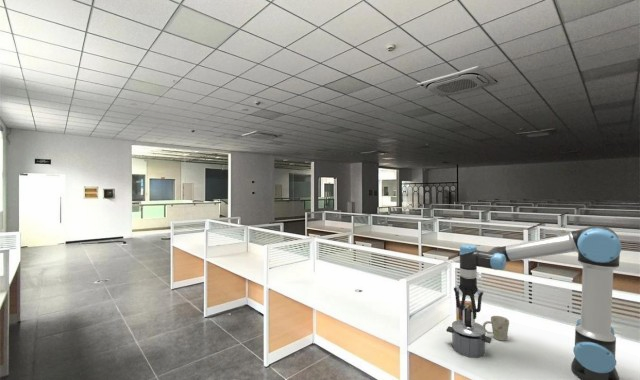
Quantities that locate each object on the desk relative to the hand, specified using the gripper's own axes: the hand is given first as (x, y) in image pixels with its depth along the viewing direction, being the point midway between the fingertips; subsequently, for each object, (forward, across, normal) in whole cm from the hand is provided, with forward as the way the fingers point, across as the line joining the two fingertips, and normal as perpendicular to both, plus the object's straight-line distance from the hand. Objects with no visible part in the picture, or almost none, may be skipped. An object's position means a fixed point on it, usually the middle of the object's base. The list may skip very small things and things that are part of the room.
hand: (468, 323), depth 148 cm
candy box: (+13, +6, -22) cm, 26 cm away
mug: (+13, -9, -21) cm, 26 cm away
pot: (+13, 0, 0) cm, 13 cm away
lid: (+3, 0, 0) cm, 3 cm away
